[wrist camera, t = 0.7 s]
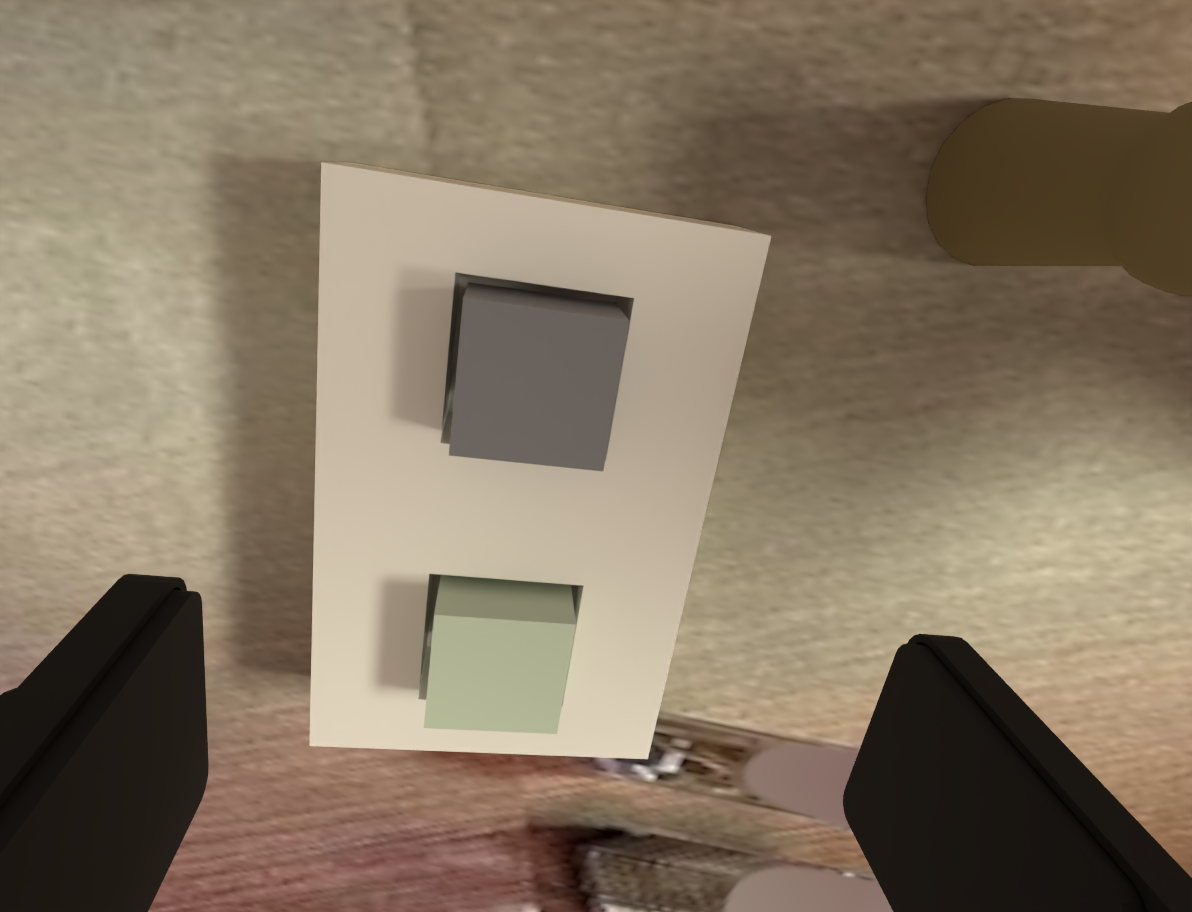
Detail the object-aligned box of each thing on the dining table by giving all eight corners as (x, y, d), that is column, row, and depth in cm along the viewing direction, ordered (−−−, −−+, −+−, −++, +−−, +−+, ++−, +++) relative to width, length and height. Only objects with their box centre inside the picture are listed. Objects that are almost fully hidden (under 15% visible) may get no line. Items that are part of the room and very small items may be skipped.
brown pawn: (894, 220, 28) (1116, 254, 18) (993, 64, 26) (1302, 2, 16) (1008, 292, 29) (1272, 362, 19) (1108, 150, 28) (1456, 144, 17)
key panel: (735, 225, 27) (771, 235, 23) (633, 696, 35) (647, 759, 31) (349, 162, 25) (321, 162, 21) (332, 679, 33) (309, 745, 29)
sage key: (569, 579, 29) (576, 624, 26) (552, 681, 30) (557, 734, 28) (441, 569, 28) (434, 614, 25) (431, 675, 30) (423, 728, 27)
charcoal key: (616, 303, 25) (629, 320, 22) (593, 439, 26) (603, 471, 24) (468, 282, 24) (463, 297, 21) (455, 423, 26) (448, 455, 23)
